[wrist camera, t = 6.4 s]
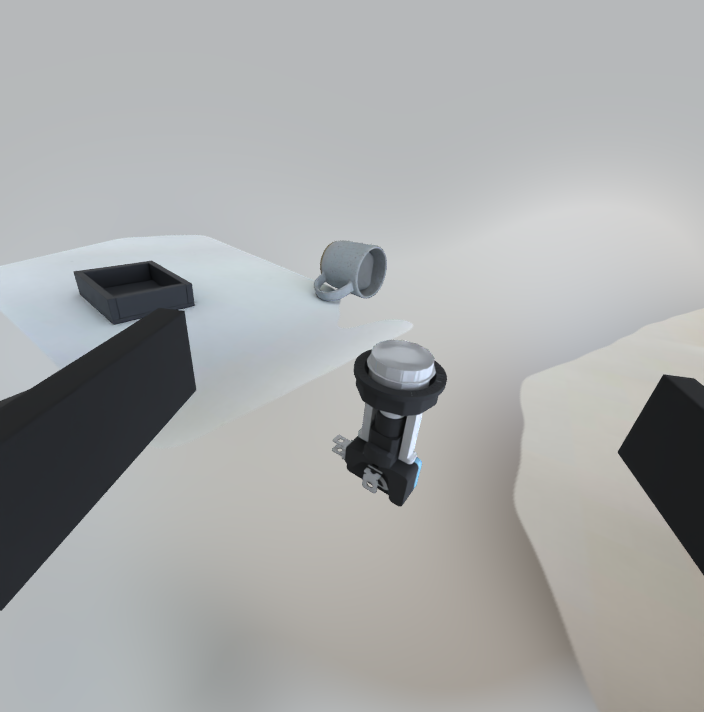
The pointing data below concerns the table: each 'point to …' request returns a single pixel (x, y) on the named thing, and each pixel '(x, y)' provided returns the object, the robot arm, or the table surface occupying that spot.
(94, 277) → the tray
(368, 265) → the ceramic mug
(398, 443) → the push button
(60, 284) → the table surface
